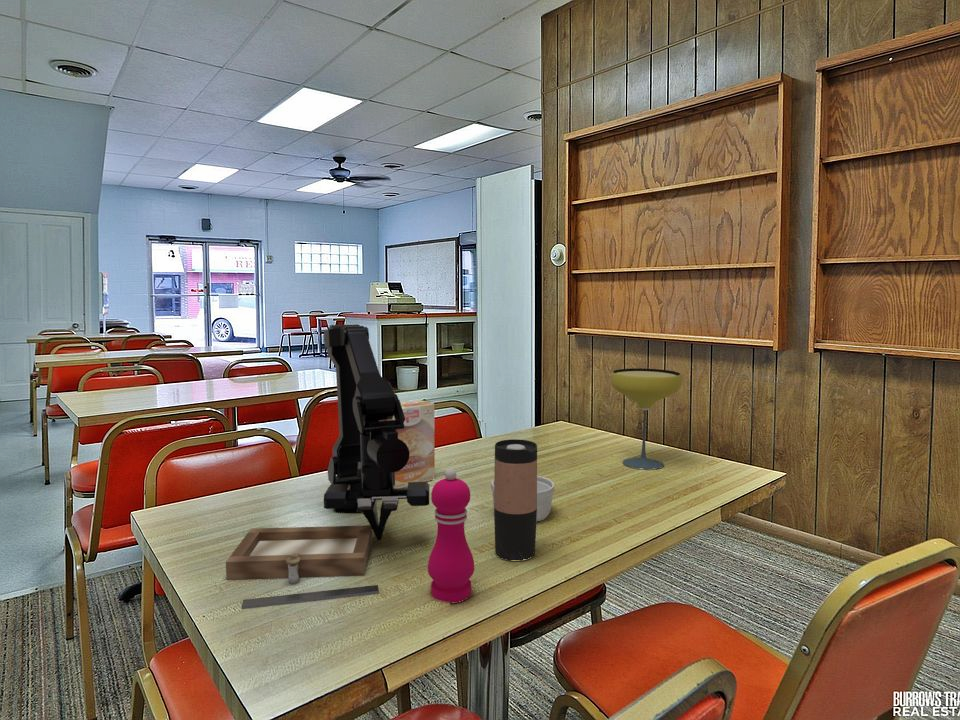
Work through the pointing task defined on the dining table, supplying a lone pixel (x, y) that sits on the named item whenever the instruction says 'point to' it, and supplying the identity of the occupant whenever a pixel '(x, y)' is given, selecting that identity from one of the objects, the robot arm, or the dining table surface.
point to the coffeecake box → (417, 443)
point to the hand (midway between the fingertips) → (379, 539)
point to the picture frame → (301, 552)
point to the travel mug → (515, 498)
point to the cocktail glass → (645, 398)
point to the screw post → (293, 573)
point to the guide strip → (309, 596)
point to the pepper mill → (450, 541)
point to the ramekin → (540, 496)
